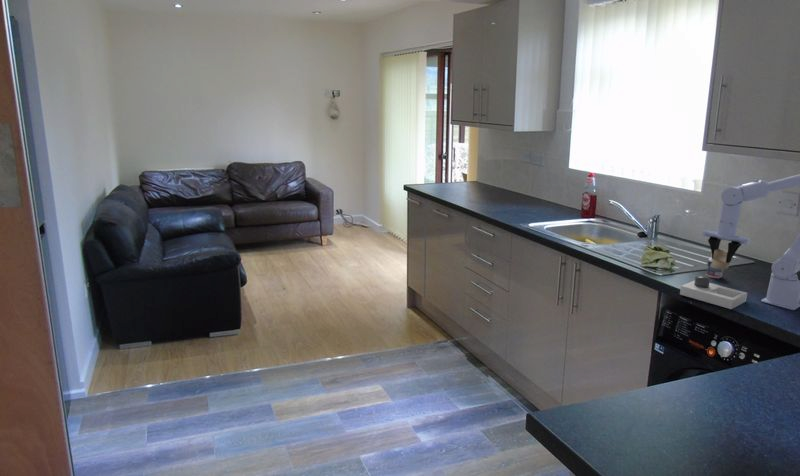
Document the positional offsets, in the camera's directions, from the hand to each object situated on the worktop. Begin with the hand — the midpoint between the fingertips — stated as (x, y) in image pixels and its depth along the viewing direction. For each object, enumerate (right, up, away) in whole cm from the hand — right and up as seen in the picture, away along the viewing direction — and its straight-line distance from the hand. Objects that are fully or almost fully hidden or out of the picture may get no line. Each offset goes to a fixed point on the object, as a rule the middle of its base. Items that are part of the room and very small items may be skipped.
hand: (721, 260), depth 196 cm
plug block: (0, -2, +1) cm, 2 cm away
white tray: (-8, -12, -9) cm, 17 cm away
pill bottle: (+6, -7, +15) cm, 17 cm away
